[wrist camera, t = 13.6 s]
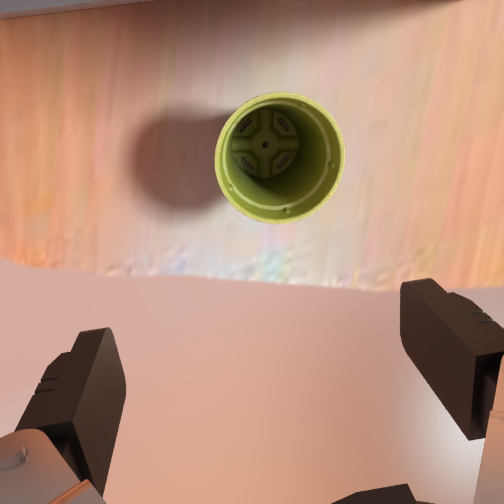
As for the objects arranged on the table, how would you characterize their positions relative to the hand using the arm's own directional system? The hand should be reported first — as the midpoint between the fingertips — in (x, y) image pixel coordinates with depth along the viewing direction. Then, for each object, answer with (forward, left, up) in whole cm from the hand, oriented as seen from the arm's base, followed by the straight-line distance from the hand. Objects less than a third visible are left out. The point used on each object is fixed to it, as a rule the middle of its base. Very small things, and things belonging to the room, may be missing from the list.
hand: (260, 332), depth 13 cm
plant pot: (-4, 0, -30) cm, 31 cm away
